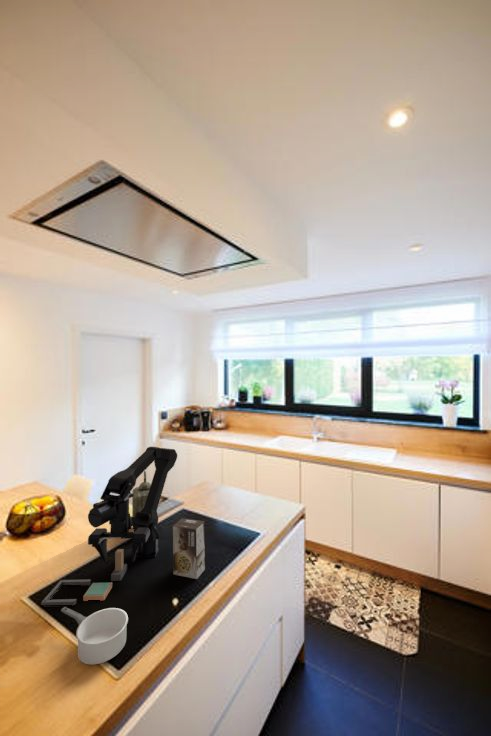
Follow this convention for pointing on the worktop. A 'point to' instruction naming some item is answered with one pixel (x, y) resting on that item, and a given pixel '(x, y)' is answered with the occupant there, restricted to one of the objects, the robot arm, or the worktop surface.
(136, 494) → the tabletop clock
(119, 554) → the pusher
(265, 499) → the worktop surface
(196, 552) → the coffee box
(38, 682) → the worktop surface
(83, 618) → the saucepan
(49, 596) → the corral
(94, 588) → the tile
